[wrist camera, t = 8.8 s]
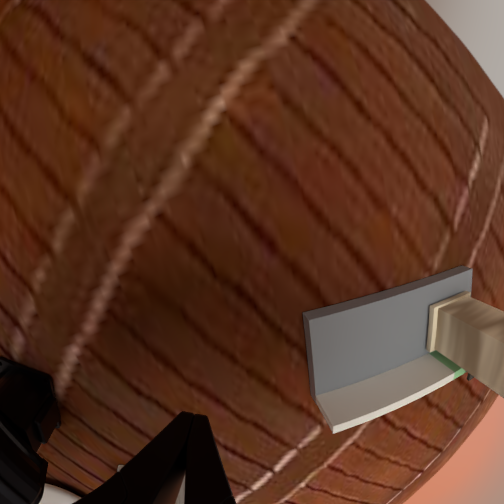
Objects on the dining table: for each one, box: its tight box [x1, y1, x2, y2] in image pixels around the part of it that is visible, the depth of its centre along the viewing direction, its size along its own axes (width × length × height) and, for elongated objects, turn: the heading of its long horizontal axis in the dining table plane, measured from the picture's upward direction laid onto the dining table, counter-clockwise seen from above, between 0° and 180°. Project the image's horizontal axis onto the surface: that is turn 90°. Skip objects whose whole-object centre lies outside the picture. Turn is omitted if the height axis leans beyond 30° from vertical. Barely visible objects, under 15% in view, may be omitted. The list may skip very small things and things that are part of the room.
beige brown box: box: [426, 291, 504, 398], centre depth 17 cm, size 5×6×12 cm
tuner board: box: [303, 266, 472, 433], centre depth 21 cm, size 17×8×6 cm, turn 100°
